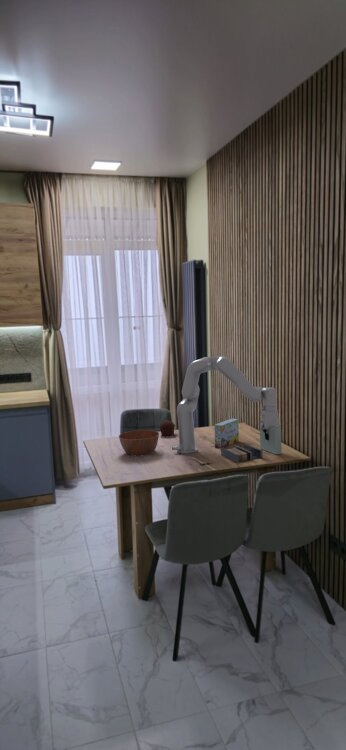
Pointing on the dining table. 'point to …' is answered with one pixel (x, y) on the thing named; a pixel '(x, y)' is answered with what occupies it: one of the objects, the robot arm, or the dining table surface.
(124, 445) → the bowl
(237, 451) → the upper offcut
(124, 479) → the dining table surface
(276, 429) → the tall sheet
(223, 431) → the snack box
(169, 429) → the muffin
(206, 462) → the dining table surface
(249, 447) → the offcut rack
